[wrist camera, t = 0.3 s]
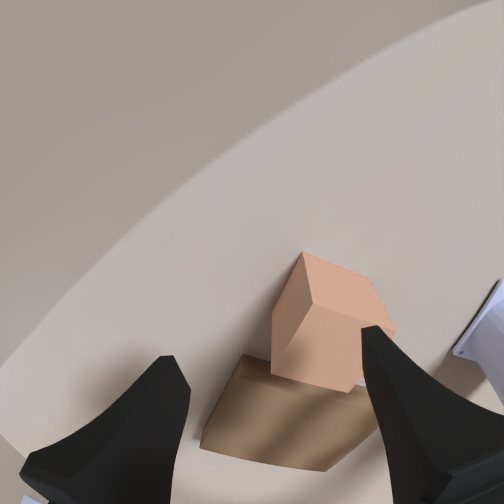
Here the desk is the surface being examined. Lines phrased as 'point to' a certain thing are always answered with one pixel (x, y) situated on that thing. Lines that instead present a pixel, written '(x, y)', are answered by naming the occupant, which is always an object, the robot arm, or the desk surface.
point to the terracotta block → (324, 324)
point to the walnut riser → (286, 420)
